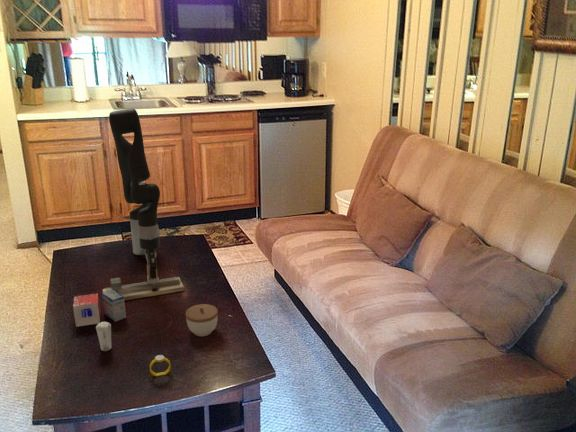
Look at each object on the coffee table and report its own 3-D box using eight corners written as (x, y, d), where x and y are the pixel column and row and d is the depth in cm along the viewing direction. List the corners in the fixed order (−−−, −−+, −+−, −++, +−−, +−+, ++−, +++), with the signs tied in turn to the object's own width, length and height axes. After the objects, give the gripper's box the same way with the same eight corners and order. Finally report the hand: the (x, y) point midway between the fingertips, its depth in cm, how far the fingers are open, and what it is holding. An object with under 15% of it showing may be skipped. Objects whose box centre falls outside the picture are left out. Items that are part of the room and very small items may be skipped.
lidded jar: (183, 327, 180) (182, 303, 177) (213, 321, 184) (212, 297, 181) (190, 343, 170) (189, 317, 167) (222, 336, 174) (221, 311, 171)
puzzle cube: (100, 312, 189) (97, 293, 187) (100, 323, 182) (97, 303, 180) (76, 316, 187) (74, 296, 184) (75, 327, 180) (72, 306, 177)
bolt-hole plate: (103, 292, 204) (101, 277, 202) (179, 280, 215) (178, 265, 213) (104, 303, 195) (102, 288, 193) (184, 290, 206) (183, 275, 204)
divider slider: (147, 284, 207) (145, 264, 204) (157, 282, 208) (156, 262, 206) (149, 288, 203) (147, 268, 200) (159, 287, 205) (157, 267, 202)
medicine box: (103, 314, 188) (101, 293, 185) (115, 310, 191) (112, 289, 188) (115, 322, 183) (112, 300, 180) (126, 317, 186) (124, 295, 183)
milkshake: (107, 354, 164) (103, 326, 161) (95, 349, 166) (92, 322, 163) (118, 348, 167) (115, 320, 164) (107, 343, 170) (103, 316, 167)
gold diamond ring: (170, 370, 156) (170, 353, 155) (171, 376, 154) (171, 358, 152) (149, 373, 154) (149, 355, 153) (150, 378, 152) (150, 361, 150)
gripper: (136, 230, 204) (140, 270, 209) (141, 242, 191) (145, 284, 197) (156, 227, 207) (159, 267, 212) (161, 240, 194) (165, 281, 200)
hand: (152, 275), depth 204 cm, fingers closed on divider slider, 3 cm apart
